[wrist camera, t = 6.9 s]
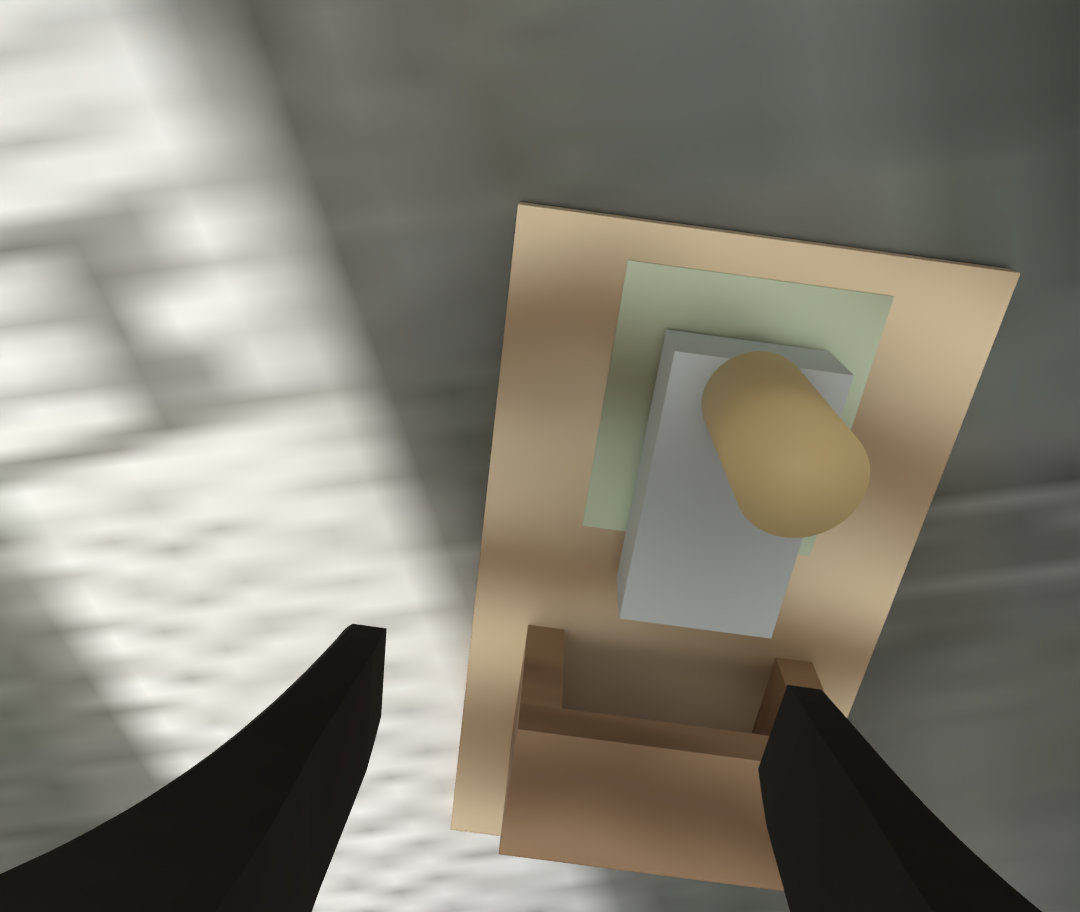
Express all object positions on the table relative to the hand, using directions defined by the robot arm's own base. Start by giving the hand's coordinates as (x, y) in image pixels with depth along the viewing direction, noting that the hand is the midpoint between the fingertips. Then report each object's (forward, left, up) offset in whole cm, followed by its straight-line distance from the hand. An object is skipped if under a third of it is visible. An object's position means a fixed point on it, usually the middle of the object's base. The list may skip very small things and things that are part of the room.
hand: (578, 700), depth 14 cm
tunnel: (-8, -4, -10) cm, 13 cm away
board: (-4, -4, -10) cm, 12 cm away
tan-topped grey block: (+1, -4, -10) cm, 10 cm away
